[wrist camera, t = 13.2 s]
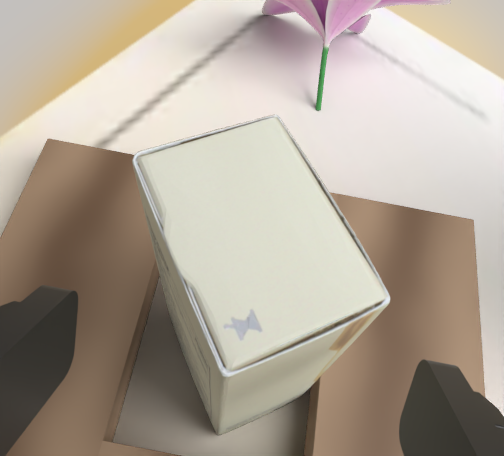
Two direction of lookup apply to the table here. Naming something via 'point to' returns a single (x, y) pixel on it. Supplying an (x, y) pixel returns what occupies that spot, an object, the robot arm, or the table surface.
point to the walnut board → (145, 281)
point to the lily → (335, 19)
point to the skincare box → (253, 266)
